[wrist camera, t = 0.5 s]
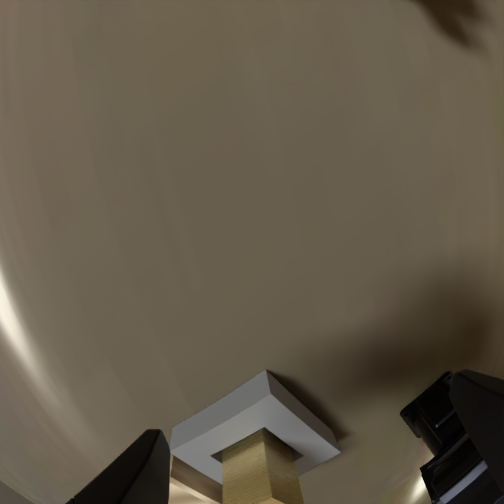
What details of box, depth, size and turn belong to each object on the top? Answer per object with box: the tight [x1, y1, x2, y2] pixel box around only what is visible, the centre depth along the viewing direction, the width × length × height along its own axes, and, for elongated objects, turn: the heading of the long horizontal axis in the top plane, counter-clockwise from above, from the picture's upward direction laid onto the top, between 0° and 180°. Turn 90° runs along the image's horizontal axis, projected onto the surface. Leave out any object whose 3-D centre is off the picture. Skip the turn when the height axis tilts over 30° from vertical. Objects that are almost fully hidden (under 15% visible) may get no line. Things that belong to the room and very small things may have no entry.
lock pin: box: [222, 427, 304, 504], centre depth 19 cm, size 4×4×9 cm
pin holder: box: [169, 370, 341, 485], centre depth 22 cm, size 10×10×3 cm
